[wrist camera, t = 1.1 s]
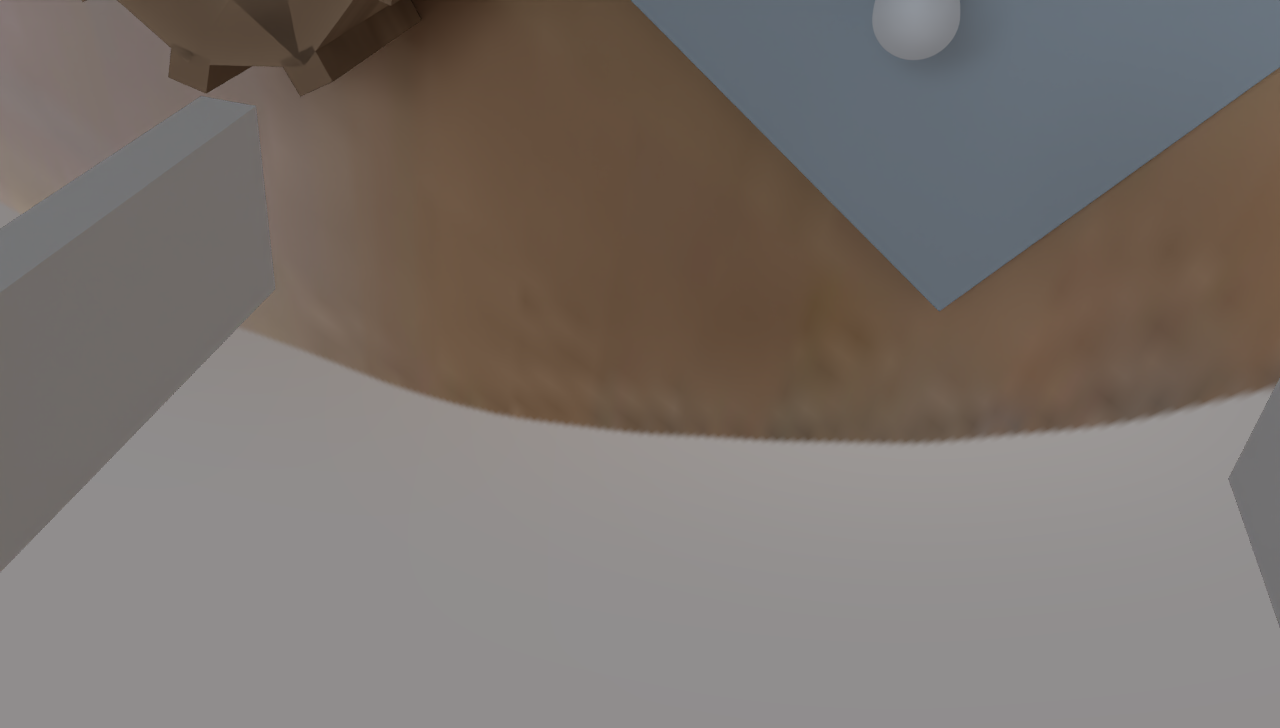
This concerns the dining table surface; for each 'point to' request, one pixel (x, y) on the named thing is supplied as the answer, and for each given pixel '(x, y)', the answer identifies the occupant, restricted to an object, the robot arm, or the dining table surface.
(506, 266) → the dining table surface
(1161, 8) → the gear board
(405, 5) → the gear
